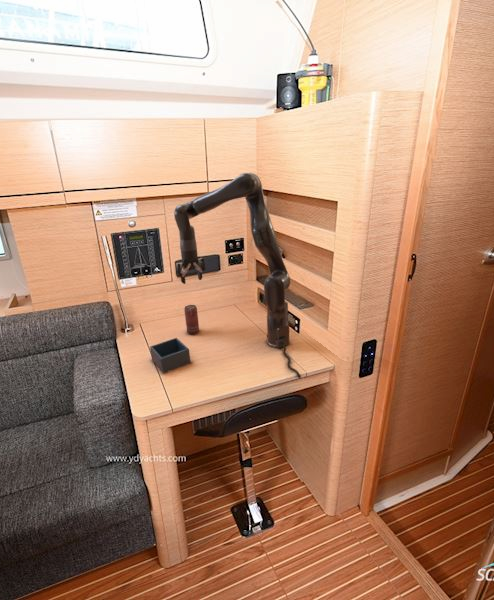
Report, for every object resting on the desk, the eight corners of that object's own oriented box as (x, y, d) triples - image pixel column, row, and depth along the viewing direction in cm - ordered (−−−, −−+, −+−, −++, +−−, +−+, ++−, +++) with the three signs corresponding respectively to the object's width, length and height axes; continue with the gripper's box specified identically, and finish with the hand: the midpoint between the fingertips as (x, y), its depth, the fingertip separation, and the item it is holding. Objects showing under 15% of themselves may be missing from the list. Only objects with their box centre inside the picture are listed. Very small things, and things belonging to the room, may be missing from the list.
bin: (190, 362, 142) (189, 348, 140) (163, 373, 136) (160, 359, 134) (178, 350, 152) (176, 337, 150) (152, 360, 146) (149, 346, 144)
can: (188, 336, 164) (185, 310, 159) (186, 330, 170) (183, 305, 165) (200, 334, 166) (197, 308, 160) (198, 328, 171) (195, 303, 166)
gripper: (177, 252, 148) (181, 286, 154) (206, 247, 155) (208, 280, 161) (171, 249, 154) (175, 282, 160) (198, 244, 161) (201, 276, 167)
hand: (192, 281), depth 161 cm, fingers open, 8 cm apart
